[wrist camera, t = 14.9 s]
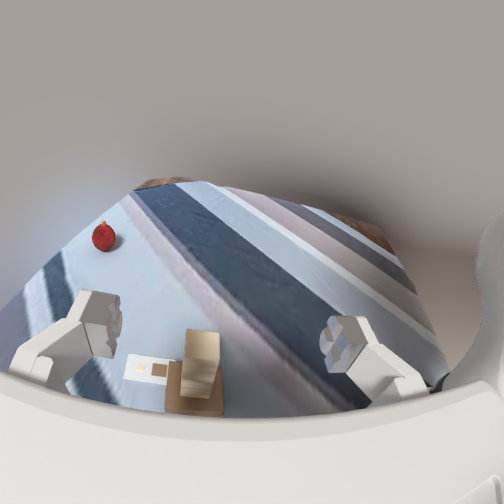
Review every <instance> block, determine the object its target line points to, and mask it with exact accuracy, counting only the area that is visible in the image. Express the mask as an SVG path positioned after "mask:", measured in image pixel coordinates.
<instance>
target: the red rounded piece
mask: <svg viewBox="0 0 504 504" xmlns="http://www.w3.org/2000/svg"><path fill="white" fill-rule="evenodd" d="M92 241H93V244H94V246H95V247H96V248H97V249H99V250H101V251H107V250H108V249H110V248H111V247H112V246H113V244H114V243H115V232H114V230H113V229H112V228H111V227H110V226H109V225H107V224H106V222H105V221H102V222H101V224H100V225H99V226H97V227H96V228H95V230H94V232H93V235H92Z"/></svg>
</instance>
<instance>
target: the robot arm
mask: <svg viewBox="0 0 504 504" xmlns="http://www.w3.org/2000/svg"><path fill="white" fill-rule="evenodd" d="M475 261H476V262H475V269H476V276H477V281H478V284H479V287H480V291H481V297H482V318H481V324H480V328H479V331H478V334H477V336H476V338H475V341H474V343H473V344H472V346H471V347H470V349H469V350H468V352H467V353H466V355H465V356H464V357H463V359H462V360H461V361H460V362H459V364H458V365H457V366H456V367H455V368H454V369H453V370H452V372H450V373H448V374H446V375H445V376H444V377H442V378H441V379H440V380H439V381H438V382H437V383H436V384H435V385H434V386H433V387H426V385H425V383H424V381H423V379H422V377H421V375H420V373H419V372H417V371H416V370H415V369H414V368H412V367H411V366H410V365H409V364H407V363H406V362H405V361H403V360H402V359H401V358H400V357H398V356H397V355H396V354H394V353H393V352H392V351H391V350H389V349H388V348H387V347H385V346H384V345H383V344H379V342H378V340H377V338H376V336H375V334H374V332H373V331H372V329H371V327H370V325H369V323H368V321H367V319H366V318H365V317H364V316H331V317H330V318H329V320H328V321H327V324H328V327H327V328H325V329H324V330H323V331H322V333H321V335H320V348H321V352H322V353H324V354H325V355H326V357H325V360H324V361H325V364H326V367H327V370H328V373H341V372H346V374H347V375H348V376H349V377H350V378H351V379H352V380H353V381H354V382H355V383H356V385H357V386H358V387H359V388H360V389H361V390H362V391H363V392H364V393H365V394H366V395H367V396H368V397H369V399H370V400H371V401H372V403H371V404H370V405H369V406H368V407H367V408H366V409H360V410H353V411H346V412H338V413H330V414H320V415H309V416H296V417H276V418H223V417H203V416H189V415H179V414H169V413H161V412H153V411H146V410H140V409H134V408H128V407H122V406H117V405H112V404H107V403H102V402H98V401H93V400H89V399H85V398H81V397H77V396H73V395H71V394H70V393H69V391H68V389H67V387H66V386H65V383H66V382H67V381H68V380H69V379H70V378H71V377H72V376H73V375H74V374H75V373H76V372H77V371H78V370H79V369H80V368H81V367H82V366H83V365H84V364H85V363H86V362H87V361H89V360H90V359H91V358H92V357H93V356H92V355H94V356H99V357H105V358H111V359H113V358H114V355H115V351H116V347H117V342H116V338H118V337H119V336H120V333H121V328H122V312H121V311H120V310H119V306H120V297H119V296H118V295H114V294H109V293H103V292H98V291H91V290H86V289H81V290H80V291H79V293H78V295H77V297H76V299H75V301H74V303H73V305H72V307H71V309H70V311H69V313H68V315H67V317H66V319H65V318H62V319H60V320H59V321H57V322H56V323H54V324H53V325H51V326H50V327H48V328H46V329H45V330H43V331H42V332H40V333H39V334H37V335H36V336H34V337H33V338H31V339H30V340H28V341H27V342H25V343H24V344H23V345H21V346H20V347H18V349H17V352H16V354H15V356H14V358H13V360H12V362H11V365H10V367H9V369H8V372H7V373H5V372H2V371H0V504H504V214H502V215H500V216H498V217H497V218H496V219H494V220H493V221H492V222H491V223H490V224H489V225H488V227H487V228H486V229H485V231H484V233H483V235H482V236H481V239H480V241H479V244H478V247H477V252H476V259H475Z"/></svg>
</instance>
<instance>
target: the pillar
mask: <svg viewBox="0 0 504 504" xmlns="http://www.w3.org/2000/svg"><path fill="white" fill-rule="evenodd" d="M219 360H220V342H219V333H215V332H207V331H199V330H191V329H187V331H186V339H185V347H184V356H183V364H182V374H181V390H180V396H185V397H195V398H205V399H209V396H210V393H211V389H212V386H213V382H214V378H215V375H216V371H217V368H218V364H219Z"/></svg>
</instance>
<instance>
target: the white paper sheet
mask: <svg viewBox="0 0 504 504" xmlns="http://www.w3.org/2000/svg"><path fill="white" fill-rule="evenodd" d="M169 361H176V360H173V359H165V358H157V357H150V356H143V355H136V354H130V353H129V354H128V359H127V363H126V368H125V373H124V379H128V380H135V381H141V382H148V383H155V384H162V385H167V376H168V366H169Z"/></svg>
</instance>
